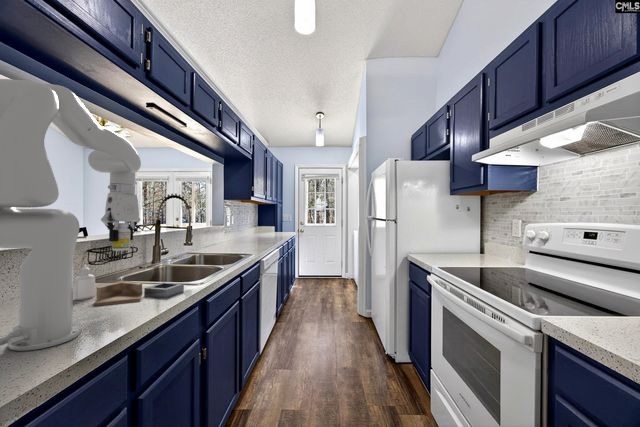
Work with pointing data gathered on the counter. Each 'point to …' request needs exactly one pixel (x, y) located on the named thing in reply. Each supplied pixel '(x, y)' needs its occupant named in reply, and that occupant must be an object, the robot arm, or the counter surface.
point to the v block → (118, 293)
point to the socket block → (163, 290)
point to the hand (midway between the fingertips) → (121, 240)
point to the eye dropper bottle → (84, 284)
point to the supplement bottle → (122, 238)
